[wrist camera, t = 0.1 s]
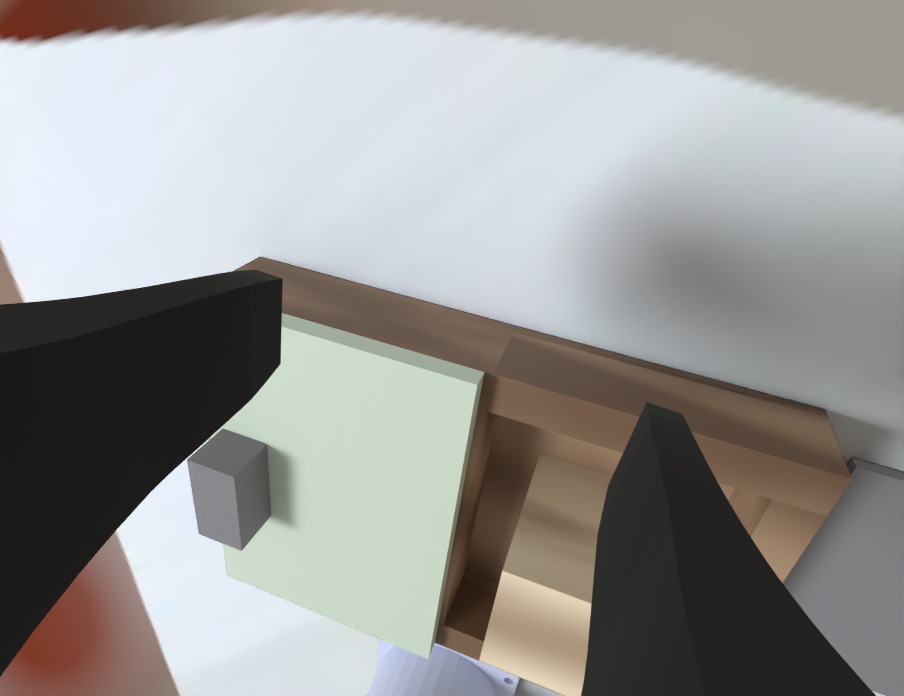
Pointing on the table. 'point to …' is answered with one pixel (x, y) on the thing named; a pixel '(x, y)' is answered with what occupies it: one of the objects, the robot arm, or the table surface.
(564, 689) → the block
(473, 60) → the table surface
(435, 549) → the lid
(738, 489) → the brown wooden shallow box
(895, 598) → the mat
